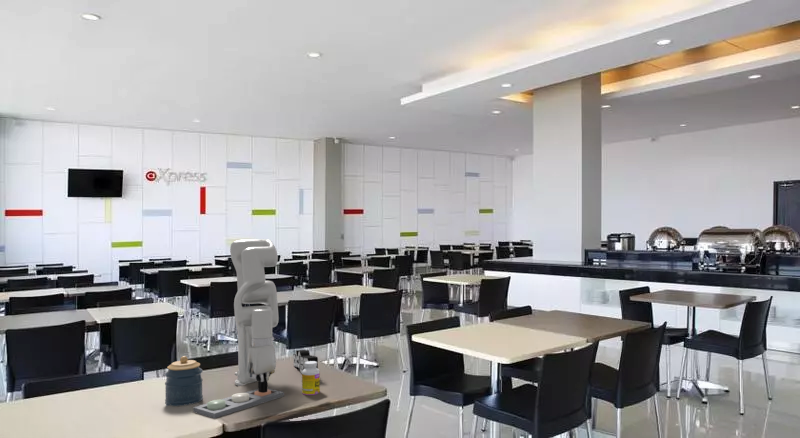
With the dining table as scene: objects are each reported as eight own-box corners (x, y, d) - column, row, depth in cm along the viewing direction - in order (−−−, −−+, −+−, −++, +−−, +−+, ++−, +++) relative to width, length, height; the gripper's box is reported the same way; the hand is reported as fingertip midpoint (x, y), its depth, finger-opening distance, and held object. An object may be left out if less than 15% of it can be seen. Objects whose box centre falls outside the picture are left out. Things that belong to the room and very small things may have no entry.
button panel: (214, 422, 184) (214, 413, 184) (193, 416, 192) (193, 407, 192) (284, 400, 208) (284, 392, 208) (263, 395, 216) (262, 387, 216)
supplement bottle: (316, 399, 209) (315, 364, 209) (299, 398, 210) (299, 364, 210) (322, 394, 215) (321, 360, 216) (306, 393, 217) (305, 360, 217)
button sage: (203, 411, 191) (203, 402, 191) (218, 407, 196) (218, 398, 196) (214, 414, 188) (214, 405, 188) (229, 410, 193) (229, 401, 193)
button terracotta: (251, 400, 207) (251, 392, 207) (264, 396, 212) (263, 388, 212) (261, 403, 204) (261, 394, 204) (274, 399, 209) (274, 390, 209)
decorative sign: (318, 376, 235) (317, 351, 237) (308, 377, 234) (307, 352, 235) (302, 370, 264) (301, 348, 266) (293, 371, 263) (292, 349, 264)
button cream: (228, 404, 199) (228, 395, 199) (242, 400, 204) (242, 391, 204) (238, 407, 196) (238, 398, 196) (252, 402, 201) (252, 394, 201)
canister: (210, 400, 209) (210, 353, 210) (186, 411, 197) (186, 361, 198) (182, 398, 214) (181, 351, 214) (157, 408, 201) (156, 359, 202)
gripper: (271, 337, 217) (271, 385, 216) (239, 344, 205) (239, 395, 204) (284, 339, 212) (285, 388, 212) (252, 346, 200) (253, 398, 200)
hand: (262, 391), depth 208 cm, fingers closed
